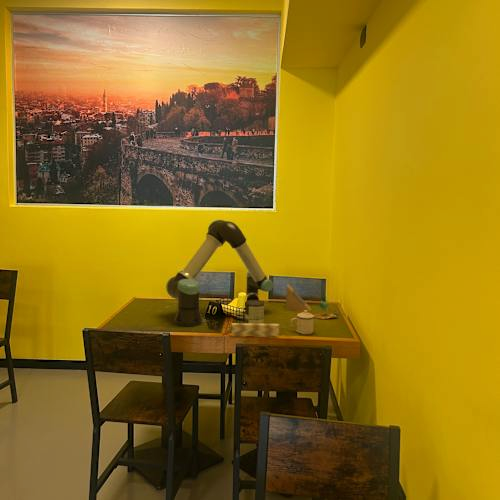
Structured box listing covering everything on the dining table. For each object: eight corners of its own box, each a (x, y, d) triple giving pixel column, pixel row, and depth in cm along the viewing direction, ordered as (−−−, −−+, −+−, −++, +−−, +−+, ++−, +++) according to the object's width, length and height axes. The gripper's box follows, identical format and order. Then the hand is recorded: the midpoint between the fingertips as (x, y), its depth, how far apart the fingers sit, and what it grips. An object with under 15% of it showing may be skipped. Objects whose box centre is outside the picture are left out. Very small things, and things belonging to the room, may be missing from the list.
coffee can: (240, 327, 252) (241, 302, 250) (252, 323, 260) (253, 299, 258) (255, 332, 245) (256, 305, 243) (267, 327, 253) (268, 302, 251)
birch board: (231, 336, 237) (231, 324, 236) (231, 334, 240) (231, 323, 239) (278, 337, 238) (279, 325, 237) (278, 335, 241) (278, 323, 240)
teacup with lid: (313, 330, 251) (314, 308, 249) (313, 335, 242) (314, 313, 240) (290, 328, 252) (291, 307, 251) (290, 333, 243) (291, 312, 242)
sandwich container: (310, 311, 289) (311, 287, 287) (285, 309, 291) (286, 286, 289) (311, 307, 297) (312, 284, 295) (287, 306, 300) (287, 283, 298)
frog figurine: (340, 321, 269) (339, 296, 267) (309, 322, 273) (307, 297, 271) (341, 316, 278) (339, 292, 276) (310, 317, 282) (309, 293, 280)
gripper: (263, 306, 285) (265, 316, 262) (241, 305, 285) (242, 316, 262) (263, 294, 284) (265, 303, 261) (242, 293, 284) (242, 303, 261)
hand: (254, 310), depth 261 cm, fingers closed
